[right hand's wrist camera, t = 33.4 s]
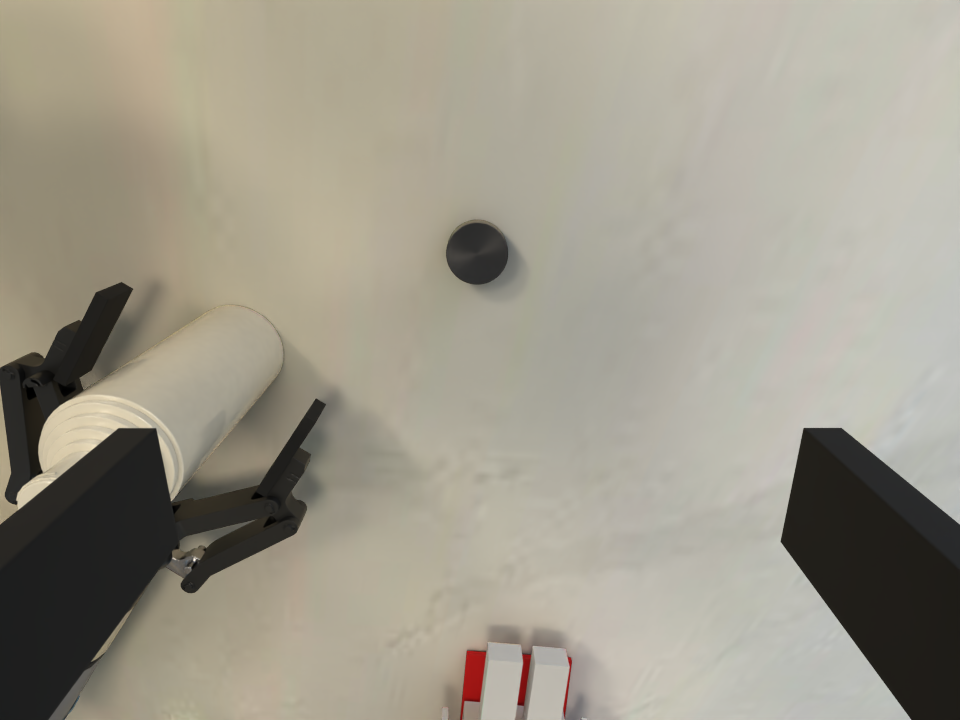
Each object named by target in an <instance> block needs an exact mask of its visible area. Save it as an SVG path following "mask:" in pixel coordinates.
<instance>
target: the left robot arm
mask: <svg viewBox="0 0 960 720" xmlns="http://www.w3.org/2000/svg"><path fill="white" fill-rule="evenodd" d="M132 290H133V289H132V288H131V287H129V286H127V285H126V284H124V283H122V282H121V283H118V284H116V285H113V286H111V287H108V288H106V289H103V290H101V291H98V292H96V293H95V295H94V298H93V300H92V302H91V304H90V306H89V308H88V310H87V312H86V314H85V316H84V318H83V320H82V321H80V320H78V321H76V322H74V323H72V324H69V325H67V326H65V327H64V328H62V329H61V330H60V331H58V333H57V335H56V337H55V340H54V341H53V343H52V345H51V348H50V350H49V352H48V354H47V356H46V358H43V356H42V355H40V354H39V353H35V352H33V353H30V354H27V355H25V356H23V357H21V358H19V359H17V360H15V361H13V362H11V363H9V364H7V365H5V366H3V367H1V368H0V388H1V395H2V403H3V411H4V419H5V427H6V434H7V442H8V450H9V458H10V465H11V476H10V479H9V482H8V485H7V488H6V492H5V497H6V499H7V500H8V502H10V503H12V504H15V505H17V502H18V501H16V499H17V494H18V492H19V491H20V490H21V488H22V487H23V486H24V485H25V484H27V483H28V482H29V481H30V480H32V479H33V478H35V477H36V476H37V475H40V474H43V471H42V469H41V465H40V461H39V454H38V447H39V440H40V437H41V432H42V429H43V427H44V424H45V422H46V421H47V419H48V417H49V416H50V415H51V414H52V412H53V411H54V410H55V409H57V408H58V407H59V406H60V405H62V404H63V403H65V402H66V401H68V400H69V399H71V398H73V397H74V396H76V395H77V394H79V393H80V392H82V391H84V390H83V388H82V385H81V382H80V379H79V377H81V376H83V375H84V374H86V373H88V372H89V371H91V370H92V368H93V366H94V364H95V362H96V360H97V358H98V356H99V354H100V353H101V351H102V349H103V347H104V345H105V343H106V341H107V339H108V337H109V335H110V333H111V331H112V329H113V327H114V325H115V323H116V321H117V319H118V318H119V316H120V314H121V312H122V310H123V308H124V306H125V304H126V302H127V300H128V298H129V296H130V294H131V292H132ZM325 405H326V404H324V403H323V402H321V401H319V400H318V399H315V401H314V402H313V404H312V405H311V407H310V408H309V410H308V412H307V413H306V415H305V416H304V418H303V419H302V421H301V422H300V424H299V425H298V427H297V428H296V430H295V431H294V433H293V434H292V436H291V437H290V439H289V440H288V442H287V444H286V445H285V447H284V448H283V450H282V451H281V453H280V454H279V456H278V457H277V459H276V460H275V462H274V463H273V465H272V466H271V468H270V469H269V471H268V473H267V474H266V476H265V477H264V479H263V480H262V482H261V484H260V485H257V486H253V487H249V488H245V489H241V490H237V491H233V492H229V493H224V494H220V495H216V496H212V497H208V498H204V499H200V500H194V499H187V500H182V501H178V502H174V503H172V508H173V513H174V518H175V523H176V528H177V533H178V538H179V540H181V539H182V538H184V537H185V536H188V535H192V534H196V533H200V532H205V531H209V530H213V529H217V528H221V527H226V526H230V525H234V524H238V523H242V522H247V521H251V520H255V519H257V520H255V521H253V522H251V523H249V524H247V525H245V526H243V527H241V528H239V529H237V530H235V531H233V532H231V533H229V534H227V535H225V536H223V537H221V538H219V539H217V540H216V541H214V542H213V543H212V544H210V545H209V546H208V547H207V548H206V547H205V546H199V547H198V548H194V549H192V550H190V551H188V552H183V551H180V550H179V546H180V544H179V543H178V544H177V546H176V547H175V548H174V550H173V551H172V552H171V554H170V555H169V556H168V558H167V559H166V561H165V562H164V563H163V565H162V566H161V567H160V569H162V568H164V567H167V568H168V569H170V570H171V571H173V572H175V573H176V574H178V575H179V576H181V577H183V578H184V579H183V581H182V583H181V588H182V589H183V590H184V591H185V592H187V593H195V592H196V591H197V590H198V589H199V588H200V587H201V586H202V585H203V584H204V582H205V581H206V580H207V579H208V578H209V577H210V576H211V575H213V574H215V573H217V572H219V571H221V570H223V569H225V568H227V567H229V566H231V565H233V564H235V563H237V562H239V561H241V560H244V559H246V558H248V557H250V556H252V555H254V554H256V553H258V552H260V551H262V550H264V549H266V548H268V547H270V546H272V545H274V544H276V543H278V542H280V541H282V540H284V539H286V538H288V537H290V536H292V535H294V534H295V533H296V532H297V530H298V528H299V526H300V524H301V522H302V520H303V518H304V515H305V513H306V511H307V506H306V504H305V503H304V502H303V501H300V500H296V499H295V498H294V497H293V495H292V492H291V491H292V489H293V488H294V486H295V485H296V483H297V482H298V480H299V479H300V477H301V476H302V474H303V473H304V471H305V469H306V467H307V466H308V464H309V462H310V456H311V454H309V453H308V452H306V451H304V450H303V449H301V448H299V447H300V445H301V444H302V442H303V441H304V439H305V438H306V436H307V435H308V433H309V432H310V430H311V429H312V427H313V426H314V424H315V423H316V421H317V419H318V418H319V416H320V414H321V412H322V411H323V409H324V407H325ZM160 569H159V570H160ZM149 583H150V582H149ZM147 586H148V585H147ZM147 586H146V587H147ZM145 589H146V588H145ZM145 589H144V590H143V592H144V591H145ZM143 592H142V593H141V595H142V594H143ZM141 595H140V596H139V597H138V599H137V600H136V601H135V603H134V604H133V605H132V607H131V608H130V610H129V611H128V612H127V614H126V615H125V616H124V618H123V619H122V620H121V622H120V623H119V624H118V626H117V627H116V629H115V630H114V631H113V633H112V634H111V635H110V637H109V638H108V639H107V641H106V642H105V644H104V645H103V646H102V648H101V649H100V650H99V652H98V653H97V654H96V656H95V657H94V658H93V660H92V661H91V663H90V664H89V665H88V667H87V668H86V669H85V671H84V672H83V673H82V675H81V676H80V678H79V679H78V680H77V682H76V683H75V684H74V686H73V687H72V688H71V690H70V691H69V692H68V694H67V695H66V697H65V698H64V699H63V701H62V702H61V703H60V705H59V706H58V707H57V709H56V710H55V712H54V713H53V714H52V716H51V717H50V718H49V720H65V718H66V717H67V715H68V714H69V713H70V712H71V711H72V709H73V708H74V706H75V704H76V702H77V701H78V699H79V697H80V696H79V694H80V693H81V691H82V689H83V688H84V686H85V685H86V683H87V681H88V679H89V678H90V676H91V674H92V673H93V671H94V669H95V667H96V666H97V664H98V662H99V660H100V659H101V657H102V656H103V655H104V653H105V652H106V651H107V649H108V648H109V646H110V645H111V643H112V641H113V640H114V638H115V637H116V635H117V634H118V632H119V630H120V629H121V627H122V626H123V624H124V623H125V621H126V619H127V618H128V616H129V615H130V613H131V611H132V609H133V607H134V606H135V605H136V603H137V602H138V600H139V599H140V597H141Z"/></svg>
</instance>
